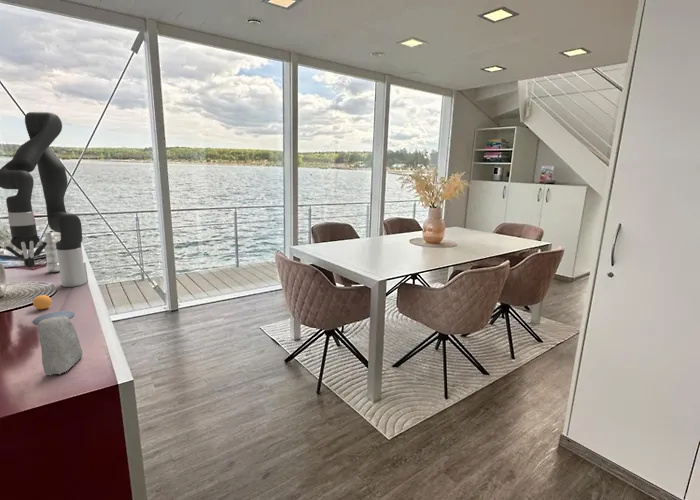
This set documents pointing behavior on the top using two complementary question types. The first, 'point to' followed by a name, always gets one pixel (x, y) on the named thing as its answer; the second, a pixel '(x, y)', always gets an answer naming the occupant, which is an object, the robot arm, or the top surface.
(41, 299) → the ball
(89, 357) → the top surface
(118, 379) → the top surface
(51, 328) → the decorative stone
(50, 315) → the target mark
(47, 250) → the plastic bottle
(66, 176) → the robot arm
